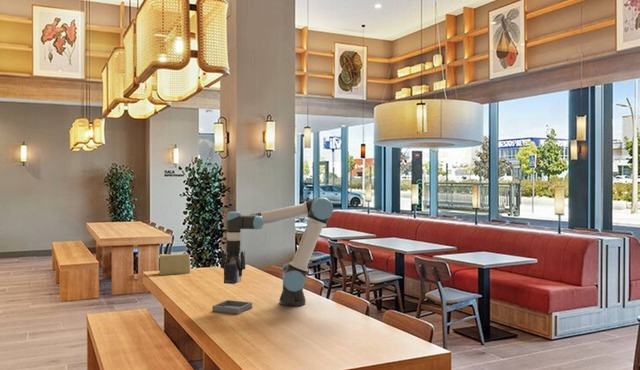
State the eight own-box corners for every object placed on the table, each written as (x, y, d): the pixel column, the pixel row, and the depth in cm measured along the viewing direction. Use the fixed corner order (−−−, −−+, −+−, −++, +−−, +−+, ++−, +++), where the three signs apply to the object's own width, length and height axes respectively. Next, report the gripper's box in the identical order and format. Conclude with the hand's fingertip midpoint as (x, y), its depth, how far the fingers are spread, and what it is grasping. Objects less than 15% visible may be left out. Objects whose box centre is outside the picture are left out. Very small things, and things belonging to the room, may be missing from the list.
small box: (234, 284, 279) (234, 265, 279) (223, 283, 280) (223, 264, 280) (241, 281, 289) (242, 262, 289) (230, 280, 290) (231, 261, 290)
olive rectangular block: (189, 272, 400) (189, 252, 400) (190, 274, 391) (190, 254, 391) (159, 273, 393) (159, 253, 393) (159, 275, 384) (160, 255, 383)
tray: (251, 307, 288) (252, 302, 288) (237, 314, 274) (238, 308, 274) (227, 305, 294) (227, 299, 294) (212, 311, 279) (212, 305, 279)
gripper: (252, 240, 284) (251, 282, 284) (221, 238, 292) (220, 279, 292) (245, 241, 277) (245, 284, 277) (214, 239, 285) (213, 281, 285)
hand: (232, 281), depth 284 cm, fingers closed on small box, 7 cm apart
